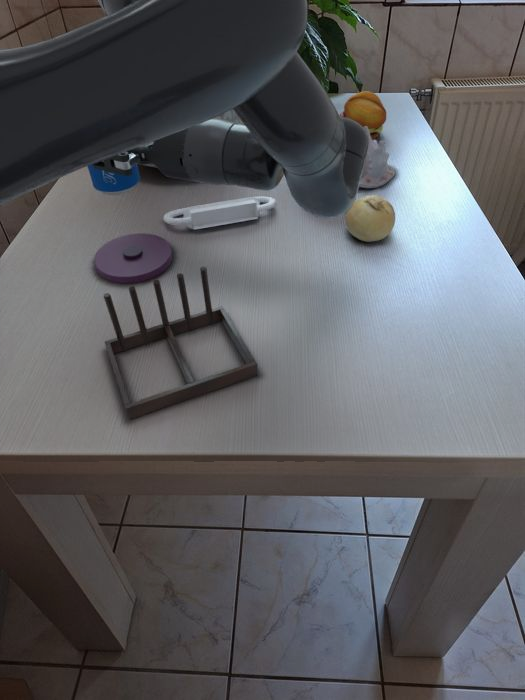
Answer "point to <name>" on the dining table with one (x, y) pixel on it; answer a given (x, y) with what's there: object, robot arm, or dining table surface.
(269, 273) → the dining table surface
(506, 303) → the dining table surface
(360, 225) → the onion
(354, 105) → the cheeseburger
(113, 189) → the beverage can
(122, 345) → the drying rack
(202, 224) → the oval loop handle
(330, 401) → the dining table surface
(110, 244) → the plum lid
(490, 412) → the dining table surface
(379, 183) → the seashell
